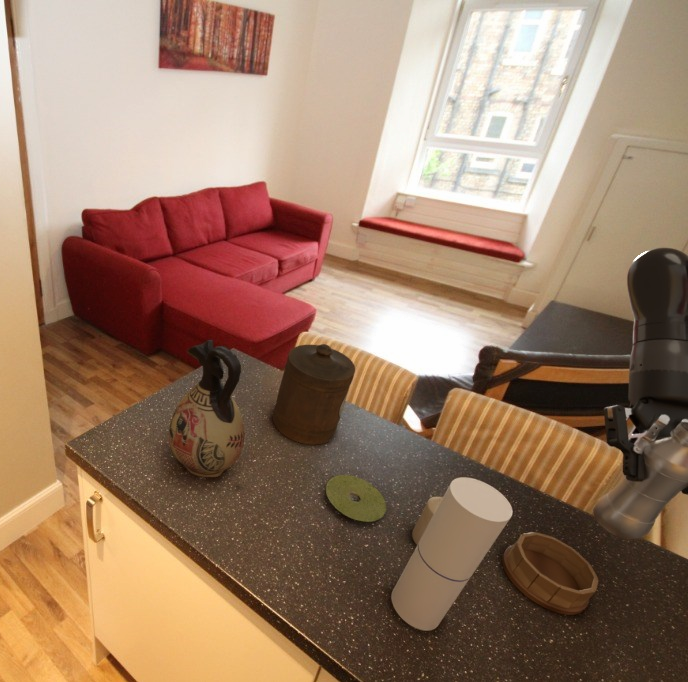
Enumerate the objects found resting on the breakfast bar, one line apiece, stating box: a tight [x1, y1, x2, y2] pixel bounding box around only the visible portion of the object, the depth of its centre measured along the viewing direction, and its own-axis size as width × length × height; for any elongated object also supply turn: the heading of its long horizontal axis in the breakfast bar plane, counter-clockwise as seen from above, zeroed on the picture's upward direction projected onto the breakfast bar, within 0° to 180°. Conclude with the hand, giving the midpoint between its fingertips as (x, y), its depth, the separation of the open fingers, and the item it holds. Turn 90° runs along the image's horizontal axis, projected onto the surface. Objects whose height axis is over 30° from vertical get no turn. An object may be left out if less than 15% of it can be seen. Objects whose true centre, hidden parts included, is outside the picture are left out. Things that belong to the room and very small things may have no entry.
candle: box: [411, 496, 444, 546], centre depth 79 cm, size 6×6×10 cm
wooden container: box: [272, 343, 356, 445], centre depth 102 cm, size 15×15×22 cm
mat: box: [325, 474, 387, 523], centre depth 87 cm, size 11×11×2 cm
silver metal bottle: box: [592, 422, 688, 541], centre depth 65 cm, size 6×7×20 cm
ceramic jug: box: [168, 339, 246, 478], centre depth 86 cm, size 17×15×30 cm
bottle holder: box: [501, 531, 600, 616], centre depth 75 cm, size 12×12×5 cm
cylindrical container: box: [390, 476, 513, 632], centre depth 64 cm, size 7×7×25 cm
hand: (662, 487), depth 63 cm, fingers closed on silver metal bottle, 6 cm apart
